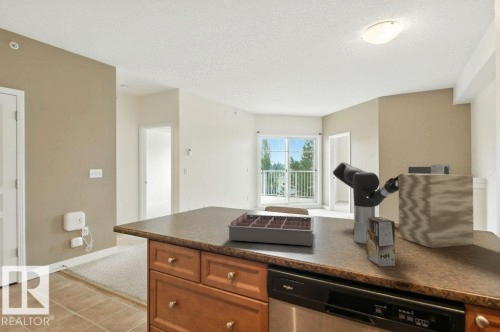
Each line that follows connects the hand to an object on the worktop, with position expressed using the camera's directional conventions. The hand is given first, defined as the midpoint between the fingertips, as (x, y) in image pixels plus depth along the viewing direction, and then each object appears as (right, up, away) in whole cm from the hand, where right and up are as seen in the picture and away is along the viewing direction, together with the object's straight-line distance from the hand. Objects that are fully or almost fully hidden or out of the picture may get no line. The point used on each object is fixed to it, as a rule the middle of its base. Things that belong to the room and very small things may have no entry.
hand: (407, 175), depth 144 cm
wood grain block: (0, -31, -21) cm, 37 cm away
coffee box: (-41, -31, -49) cm, 70 cm away
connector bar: (+3, +1, -12) cm, 12 cm away
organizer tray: (-78, -31, -13) cm, 85 cm away
